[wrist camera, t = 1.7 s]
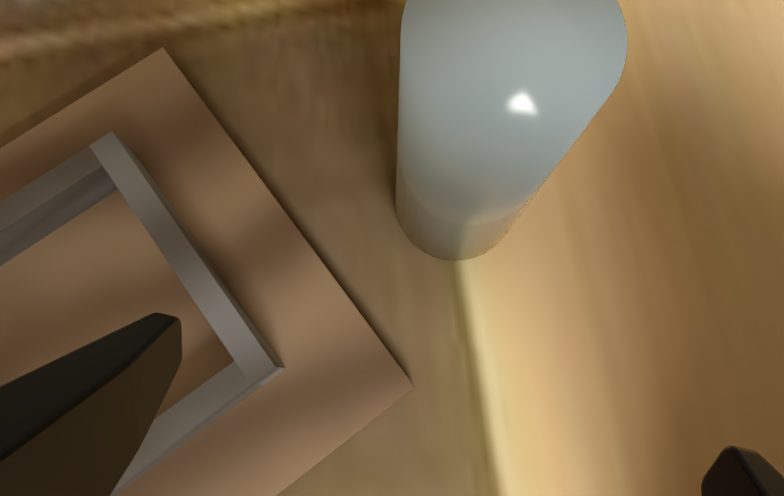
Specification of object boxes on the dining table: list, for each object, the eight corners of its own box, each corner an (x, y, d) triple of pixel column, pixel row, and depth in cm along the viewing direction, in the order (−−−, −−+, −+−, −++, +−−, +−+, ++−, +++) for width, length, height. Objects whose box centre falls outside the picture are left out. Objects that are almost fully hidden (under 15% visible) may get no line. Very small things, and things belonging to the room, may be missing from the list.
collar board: (413, 387, 22) (417, 386, 20) (2, 708, 20) (-65, 764, 17) (171, 60, 26) (143, 18, 23) (-208, 297, 23) (-294, 284, 20)
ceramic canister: (537, 214, 24) (674, 53, 13) (444, 284, 23) (499, 182, 12) (463, 127, 25) (527, -99, 13) (371, 192, 24) (356, 12, 13)
